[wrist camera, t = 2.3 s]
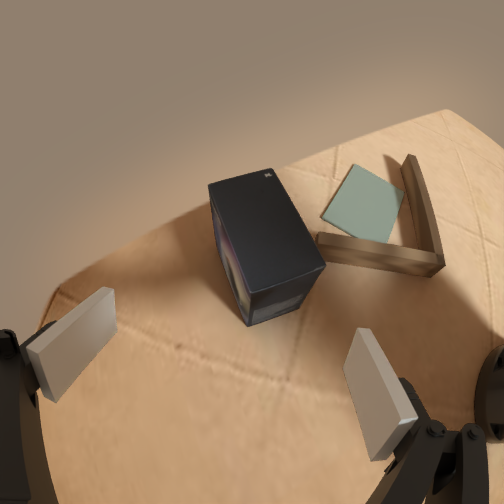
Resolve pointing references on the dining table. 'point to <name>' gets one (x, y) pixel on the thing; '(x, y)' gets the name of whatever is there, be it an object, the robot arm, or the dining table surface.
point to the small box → (263, 245)
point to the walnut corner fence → (390, 255)
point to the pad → (365, 206)
